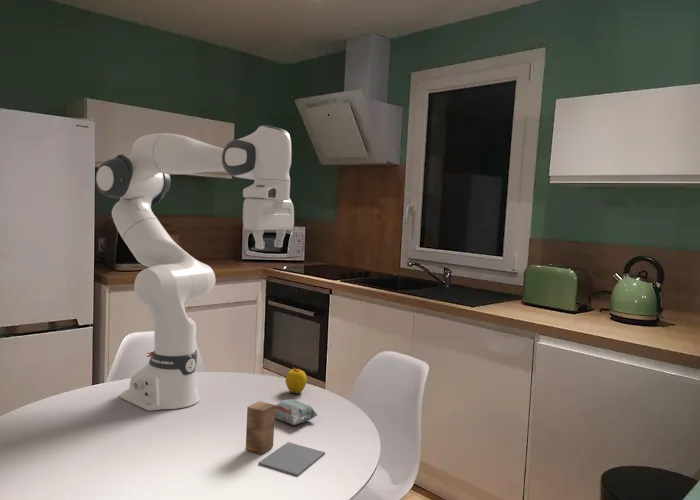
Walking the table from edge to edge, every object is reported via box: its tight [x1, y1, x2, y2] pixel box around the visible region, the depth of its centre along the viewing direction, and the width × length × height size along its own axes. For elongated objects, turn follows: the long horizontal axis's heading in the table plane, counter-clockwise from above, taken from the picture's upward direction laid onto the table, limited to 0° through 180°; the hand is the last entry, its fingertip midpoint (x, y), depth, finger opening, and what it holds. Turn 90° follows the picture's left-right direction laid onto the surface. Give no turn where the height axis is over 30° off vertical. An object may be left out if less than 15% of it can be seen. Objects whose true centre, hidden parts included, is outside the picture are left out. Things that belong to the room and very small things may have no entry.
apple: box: [285, 366, 308, 394], centre depth 159 cm, size 6×6×8 cm
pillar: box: [245, 400, 276, 455], centre depth 120 cm, size 4×4×10 cm
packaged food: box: [274, 398, 319, 426], centre depth 138 cm, size 9×12×5 cm
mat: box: [257, 441, 326, 477], centre depth 117 cm, size 10×12×1 cm
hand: (269, 247), depth 130 cm, fingers open, 8 cm apart
